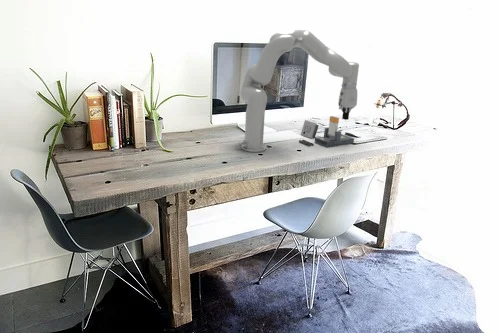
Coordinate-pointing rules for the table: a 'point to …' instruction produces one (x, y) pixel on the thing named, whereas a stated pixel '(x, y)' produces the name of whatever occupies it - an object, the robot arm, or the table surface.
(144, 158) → the table surface
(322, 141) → the double window frame
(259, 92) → the robot arm
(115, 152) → the table surface
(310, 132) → the electrical switch
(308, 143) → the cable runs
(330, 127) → the breaker lever
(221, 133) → the table surface
